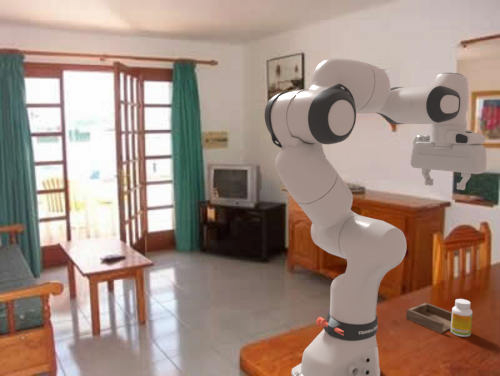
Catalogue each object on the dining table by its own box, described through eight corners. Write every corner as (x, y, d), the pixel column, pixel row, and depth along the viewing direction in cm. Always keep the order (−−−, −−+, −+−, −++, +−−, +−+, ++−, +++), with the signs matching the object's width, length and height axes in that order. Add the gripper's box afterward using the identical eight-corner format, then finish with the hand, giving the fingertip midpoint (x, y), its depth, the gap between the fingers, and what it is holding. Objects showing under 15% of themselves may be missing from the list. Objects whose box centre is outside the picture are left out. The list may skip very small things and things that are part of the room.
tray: (441, 333, 131) (441, 323, 131) (406, 318, 141) (406, 309, 141) (460, 324, 137) (461, 315, 136) (425, 311, 147) (426, 302, 146)
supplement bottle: (473, 338, 128) (475, 305, 127) (452, 336, 130) (455, 304, 128) (467, 329, 134) (470, 298, 132) (448, 328, 135) (450, 297, 133)
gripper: (407, 135, 127) (404, 183, 129) (478, 137, 110) (474, 193, 112) (420, 134, 130) (418, 182, 133) (491, 137, 114) (487, 191, 116)
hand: (444, 187), depth 122 cm, fingers open, 8 cm apart
